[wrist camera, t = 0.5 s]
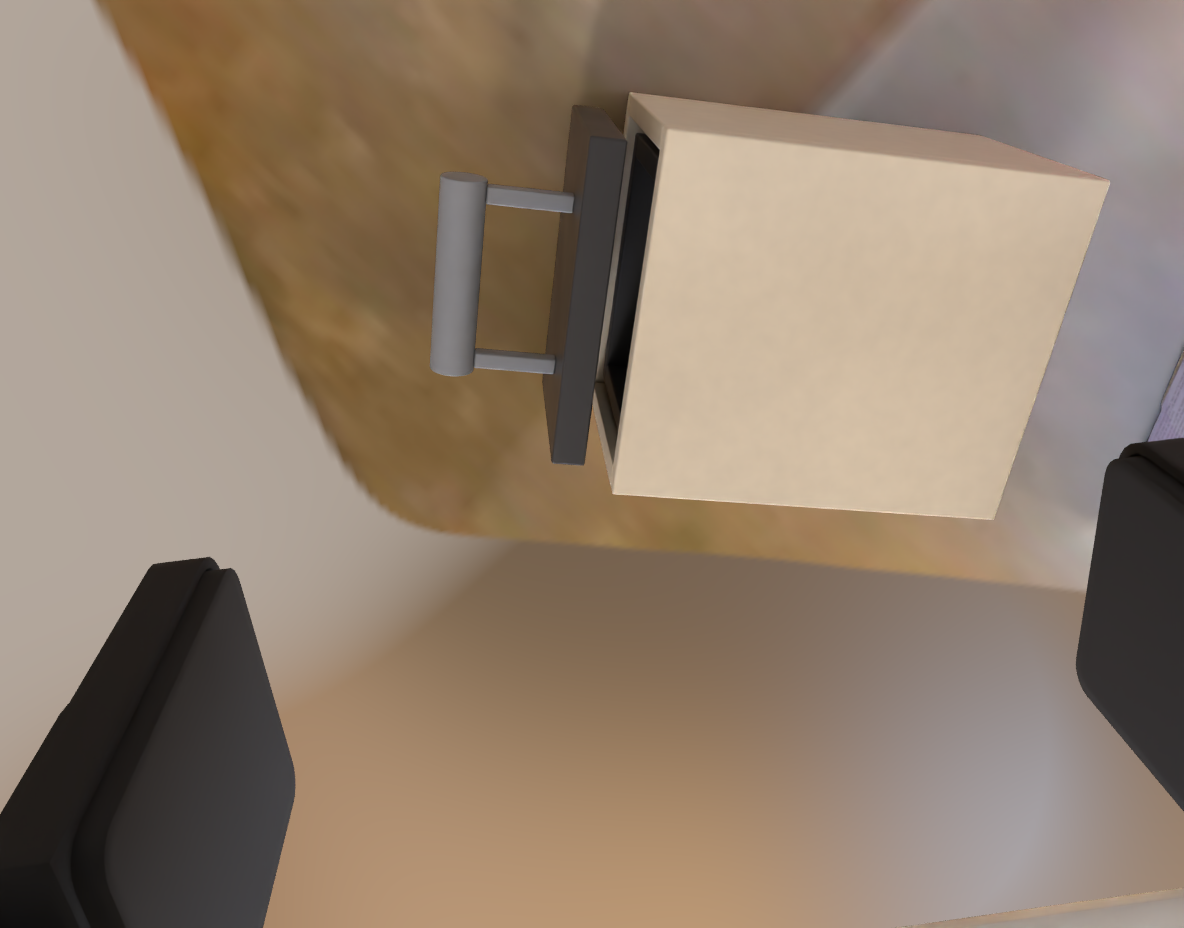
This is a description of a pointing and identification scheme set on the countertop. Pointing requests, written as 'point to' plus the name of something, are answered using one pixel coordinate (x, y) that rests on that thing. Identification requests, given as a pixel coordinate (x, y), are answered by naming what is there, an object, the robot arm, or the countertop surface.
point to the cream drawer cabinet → (838, 310)
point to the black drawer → (575, 281)
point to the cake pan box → (1171, 408)
